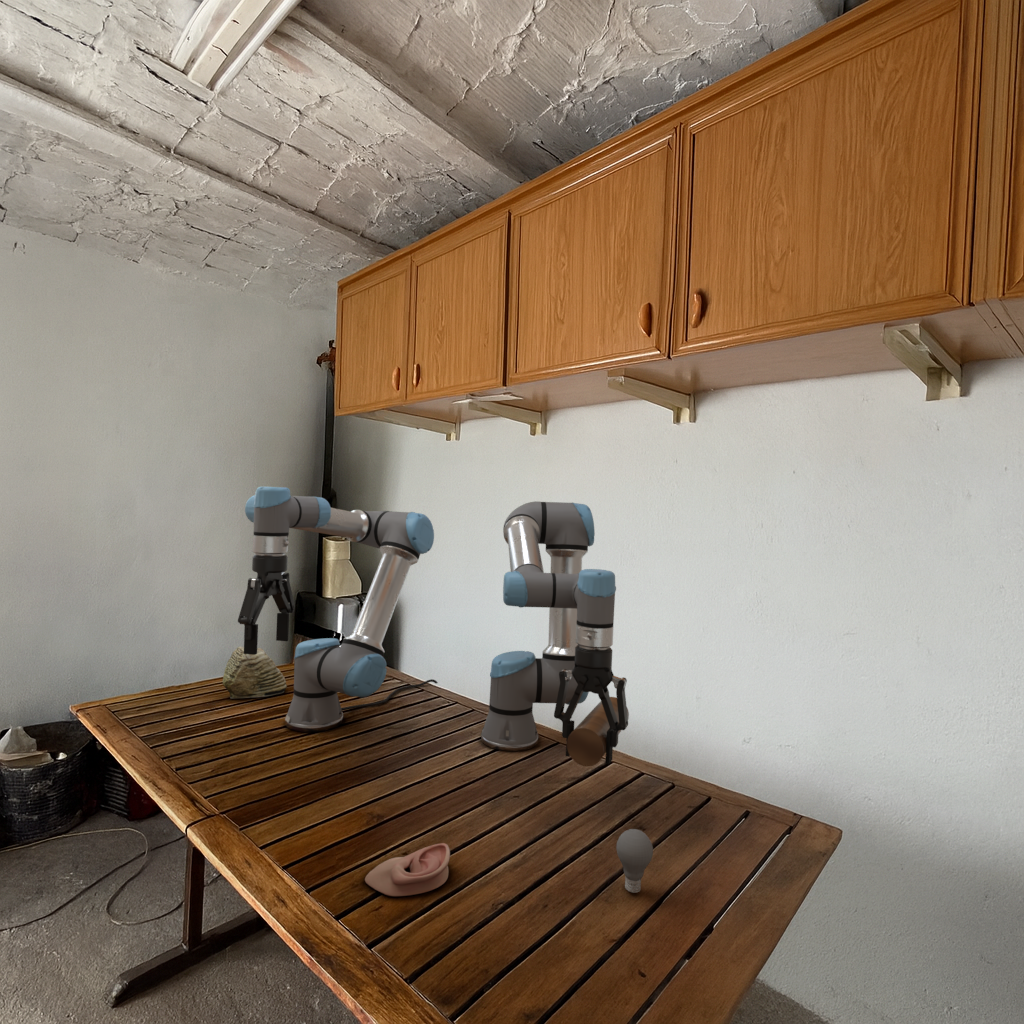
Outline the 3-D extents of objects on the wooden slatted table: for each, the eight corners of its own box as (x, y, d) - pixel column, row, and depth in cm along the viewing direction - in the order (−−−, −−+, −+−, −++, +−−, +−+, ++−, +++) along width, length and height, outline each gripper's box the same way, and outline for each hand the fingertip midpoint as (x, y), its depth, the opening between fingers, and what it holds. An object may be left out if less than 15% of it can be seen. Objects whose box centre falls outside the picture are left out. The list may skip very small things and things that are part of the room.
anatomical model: (357, 866, 102) (385, 830, 114) (356, 890, 102) (384, 852, 114) (435, 879, 100) (456, 841, 111) (434, 904, 100) (455, 864, 111)
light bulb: (610, 879, 108) (613, 822, 108) (644, 879, 109) (647, 822, 109) (619, 902, 102) (622, 840, 102) (655, 901, 103) (658, 840, 103)
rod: (596, 726, 149) (597, 694, 149) (628, 732, 146) (629, 699, 146) (565, 762, 127) (567, 725, 127) (602, 769, 124) (604, 731, 124)
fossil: (218, 695, 195) (220, 647, 195) (278, 685, 208) (279, 640, 207) (228, 703, 189) (230, 653, 188) (289, 692, 201) (290, 645, 201)
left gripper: (255, 560, 131) (251, 661, 132) (311, 551, 156) (308, 636, 156) (222, 557, 132) (218, 658, 133) (282, 549, 157) (279, 634, 158)
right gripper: (540, 643, 129) (535, 754, 129) (640, 656, 121) (635, 775, 122) (552, 636, 136) (547, 742, 136) (647, 648, 128) (642, 761, 128)
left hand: (267, 647), depth 145 cm, fingers open, 13 cm apart
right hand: (588, 757), depth 129 cm, fingers closed on rod, 8 cm apart
